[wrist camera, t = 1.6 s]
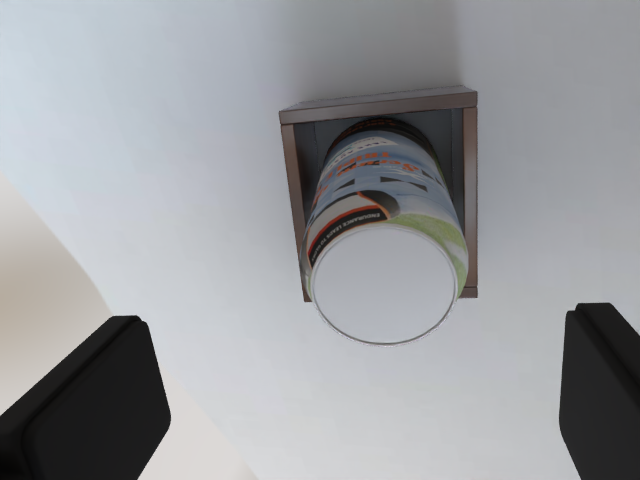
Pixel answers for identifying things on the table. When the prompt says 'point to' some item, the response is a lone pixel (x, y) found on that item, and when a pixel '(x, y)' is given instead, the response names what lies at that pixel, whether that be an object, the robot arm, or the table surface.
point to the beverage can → (383, 237)
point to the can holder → (304, 114)
